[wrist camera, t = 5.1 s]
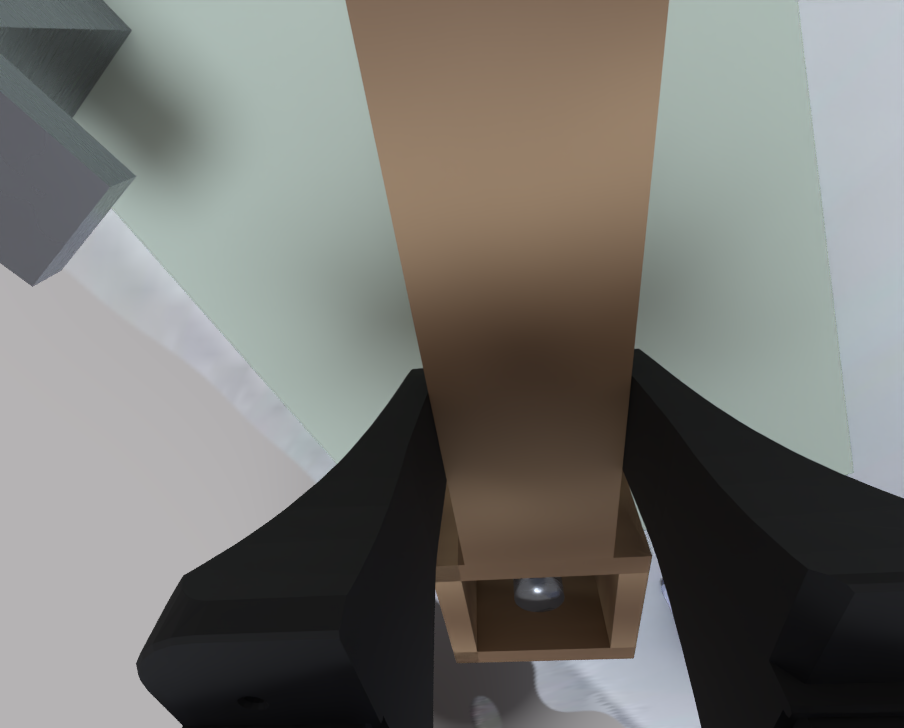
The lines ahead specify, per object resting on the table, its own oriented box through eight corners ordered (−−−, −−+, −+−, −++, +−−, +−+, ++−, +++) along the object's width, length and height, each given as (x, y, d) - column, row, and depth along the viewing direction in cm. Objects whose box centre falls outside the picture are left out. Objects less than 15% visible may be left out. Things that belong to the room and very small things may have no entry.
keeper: (234, 136, 13) (110, 187, 9) (171, 208, 14) (32, 286, 10) (51, -54, 11) (-238, -117, 6) (-6, 48, 12) (-284, 54, 8)
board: (845, 463, 19) (853, 472, 19) (443, 575, 24) (442, 584, 24) (667, -923, 6) (680, -992, 6) (-111, -66, 11) (-134, -70, 11)
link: (607, 551, 20) (633, 658, 17) (458, 558, 20) (456, 662, 17) (667, -151, 8) (796, -253, 5) (317, -85, 9) (227, -134, 6)
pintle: (552, 493, 20) (571, 605, 16) (516, 505, 20) (525, 616, 16) (537, 468, 19) (553, 578, 15) (500, 480, 20) (506, 590, 16)
